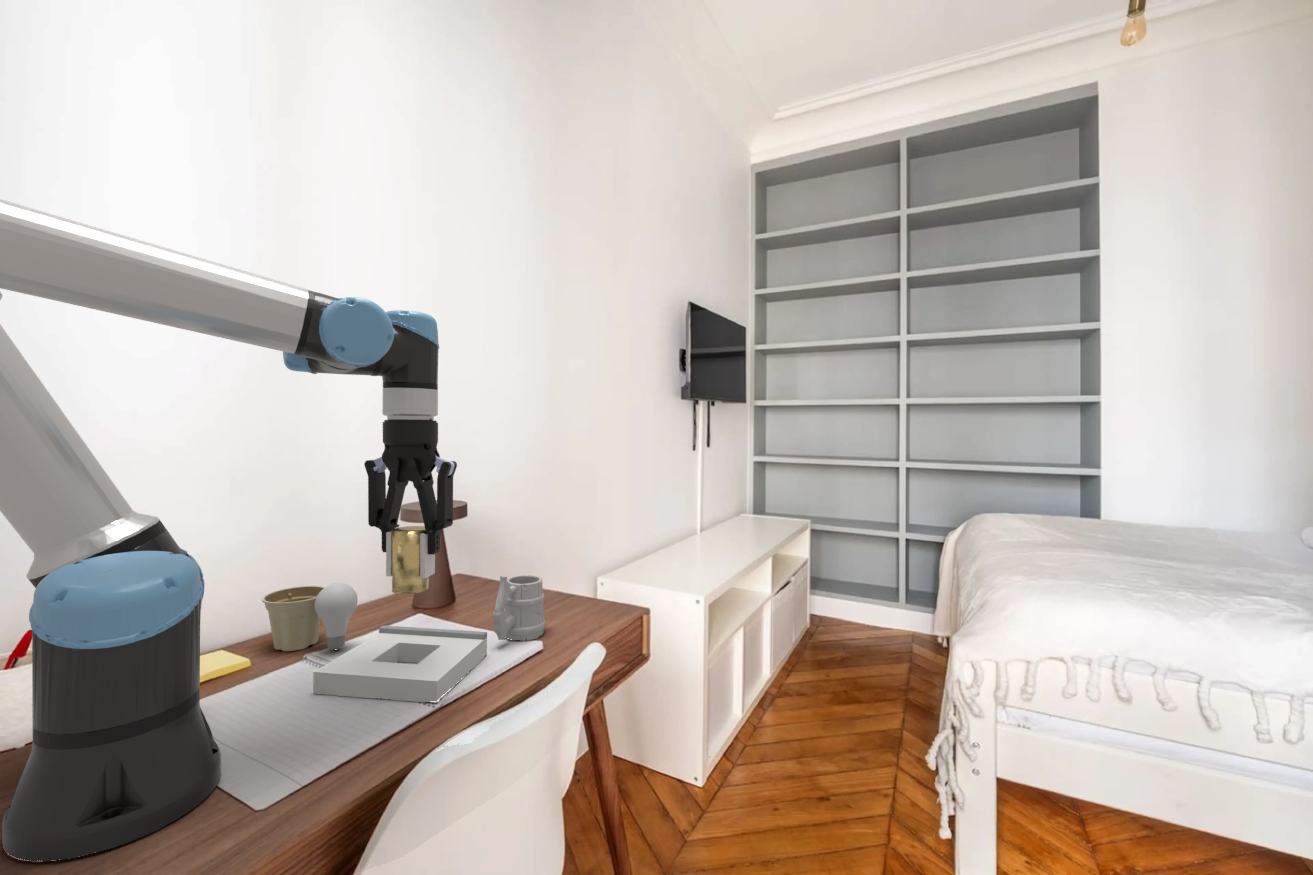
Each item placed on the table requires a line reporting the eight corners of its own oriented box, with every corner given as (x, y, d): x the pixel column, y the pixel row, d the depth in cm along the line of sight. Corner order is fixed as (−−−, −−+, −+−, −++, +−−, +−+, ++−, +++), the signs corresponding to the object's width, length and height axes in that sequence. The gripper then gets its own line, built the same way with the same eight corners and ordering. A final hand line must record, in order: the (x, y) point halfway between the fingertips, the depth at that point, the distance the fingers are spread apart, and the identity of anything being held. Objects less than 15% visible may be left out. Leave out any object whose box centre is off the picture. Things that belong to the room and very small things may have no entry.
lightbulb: (337, 659, 88) (338, 590, 88) (304, 655, 89) (305, 587, 89) (365, 644, 94) (366, 579, 94) (334, 641, 95) (334, 577, 95)
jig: (437, 703, 75) (437, 675, 75) (313, 693, 77) (313, 666, 77) (486, 655, 91) (487, 631, 90) (383, 647, 93) (383, 625, 93)
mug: (553, 630, 102) (554, 565, 102) (513, 653, 91) (514, 581, 91) (519, 623, 105) (519, 560, 105) (476, 646, 94) (477, 575, 94)
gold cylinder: (416, 595, 80) (417, 533, 80) (384, 593, 81) (385, 531, 81) (435, 585, 85) (435, 526, 85) (404, 583, 86) (405, 525, 86)
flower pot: (274, 661, 87) (274, 606, 87) (252, 646, 92) (253, 594, 92) (338, 643, 94) (338, 592, 94) (314, 630, 100) (315, 582, 100)
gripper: (479, 419, 85) (478, 570, 85) (372, 418, 87) (372, 565, 88) (454, 418, 77) (454, 584, 78) (338, 417, 80) (338, 578, 80)
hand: (410, 574), depth 83 cm, fingers closed on gold cylinder, 5 cm apart
